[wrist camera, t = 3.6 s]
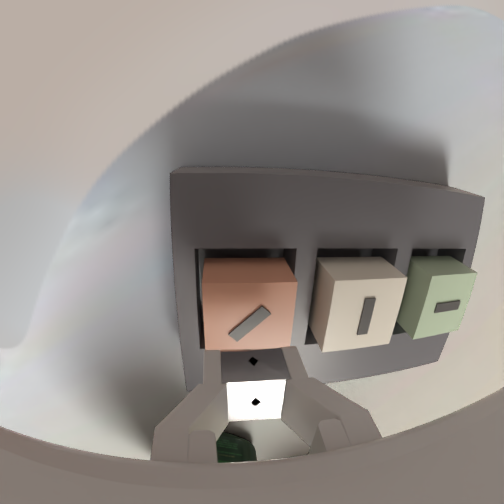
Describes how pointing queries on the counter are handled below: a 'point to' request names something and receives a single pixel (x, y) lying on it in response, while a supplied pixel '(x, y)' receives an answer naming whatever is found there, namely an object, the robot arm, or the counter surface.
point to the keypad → (313, 246)
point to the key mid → (354, 302)
